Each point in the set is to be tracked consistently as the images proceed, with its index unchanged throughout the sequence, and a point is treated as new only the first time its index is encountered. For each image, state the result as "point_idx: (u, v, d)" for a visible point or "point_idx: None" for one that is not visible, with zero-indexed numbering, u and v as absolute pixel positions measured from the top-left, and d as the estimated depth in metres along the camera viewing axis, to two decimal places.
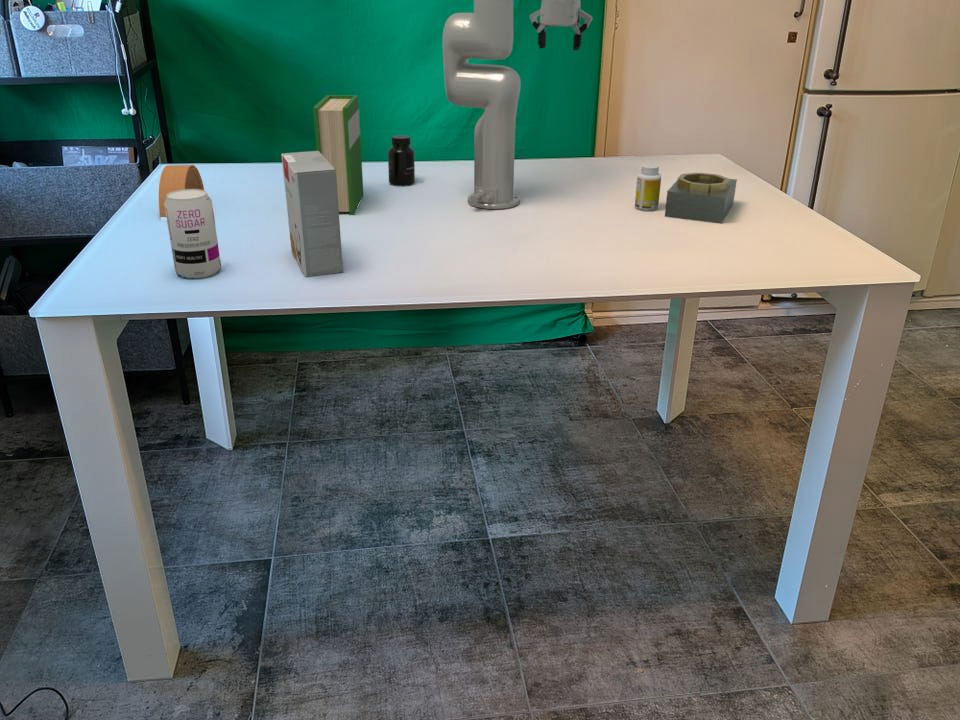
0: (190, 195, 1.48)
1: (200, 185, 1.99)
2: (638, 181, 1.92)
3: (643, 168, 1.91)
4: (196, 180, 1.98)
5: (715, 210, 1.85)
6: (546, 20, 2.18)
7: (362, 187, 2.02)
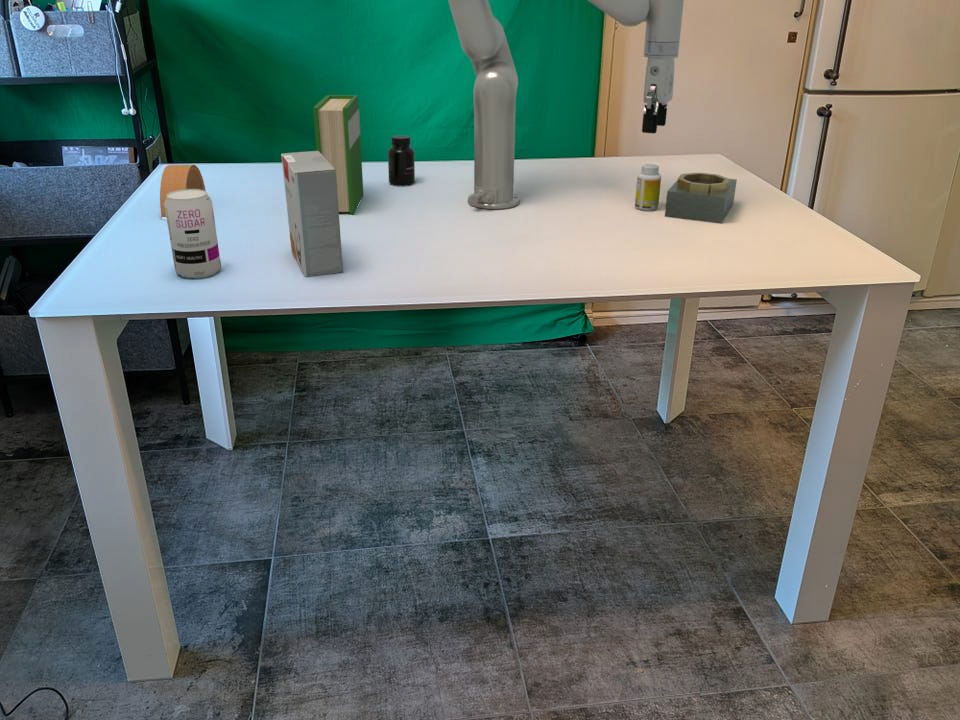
0: (190, 195, 1.48)
1: (201, 185, 1.99)
2: (638, 181, 1.92)
3: (643, 168, 1.91)
4: (197, 180, 1.98)
5: (715, 210, 1.85)
6: (666, 99, 1.81)
7: (362, 187, 2.02)
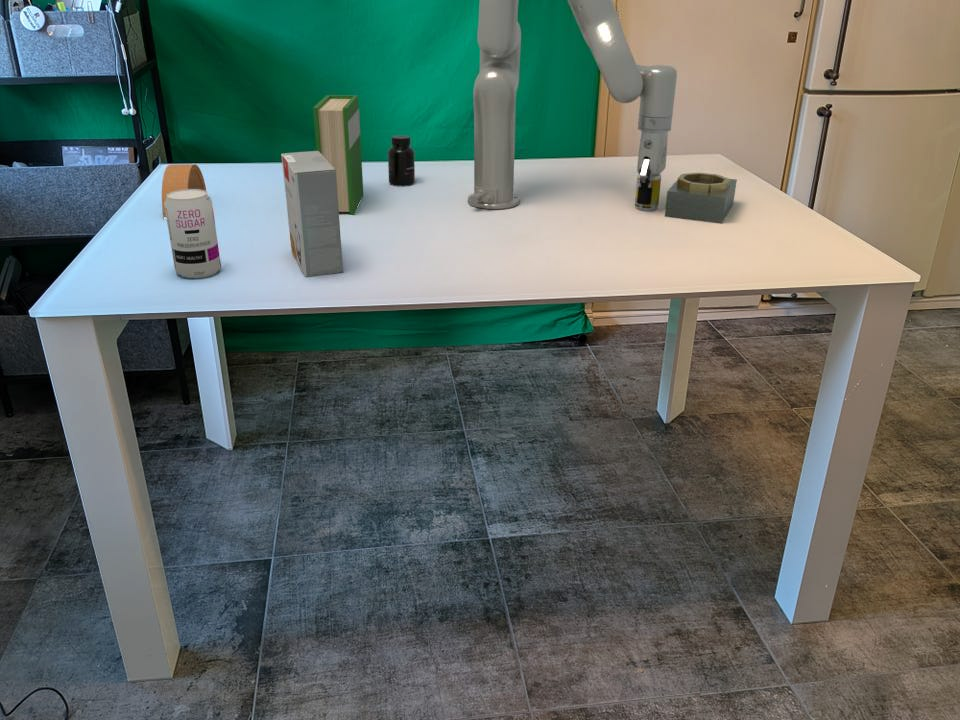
0: (190, 195, 1.48)
1: (202, 184, 2.00)
2: (638, 181, 1.92)
3: None
4: (198, 179, 1.98)
5: (715, 210, 1.85)
6: (659, 170, 1.88)
7: (362, 187, 2.02)
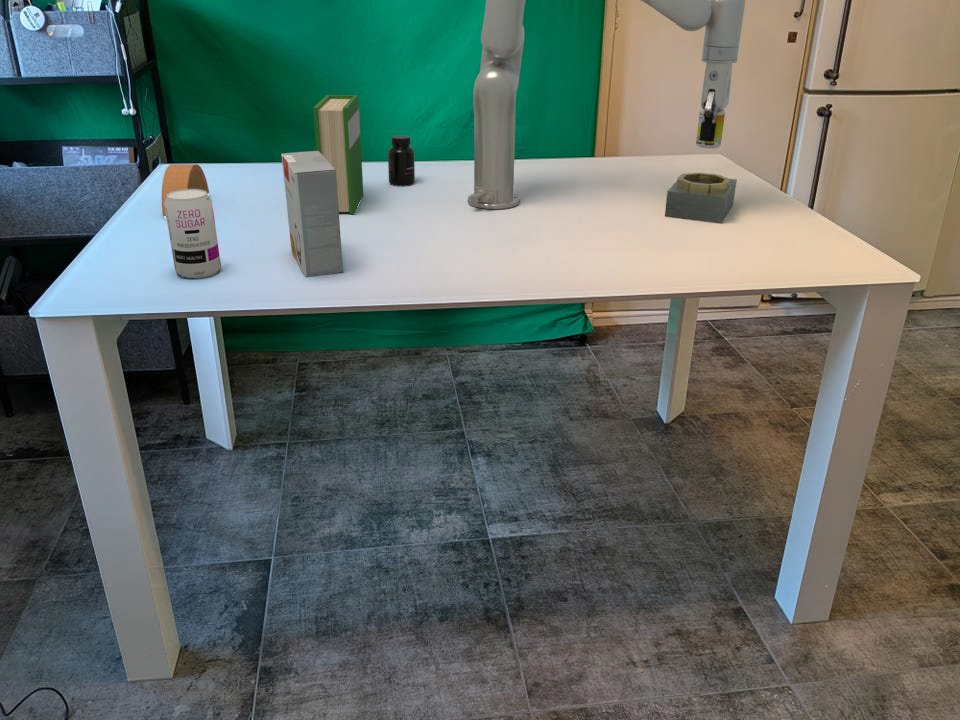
0: (190, 195, 1.48)
1: (204, 184, 2.00)
2: (701, 117, 1.84)
3: None
4: (200, 179, 1.98)
5: (715, 210, 1.85)
6: (724, 104, 1.80)
7: (362, 187, 2.02)
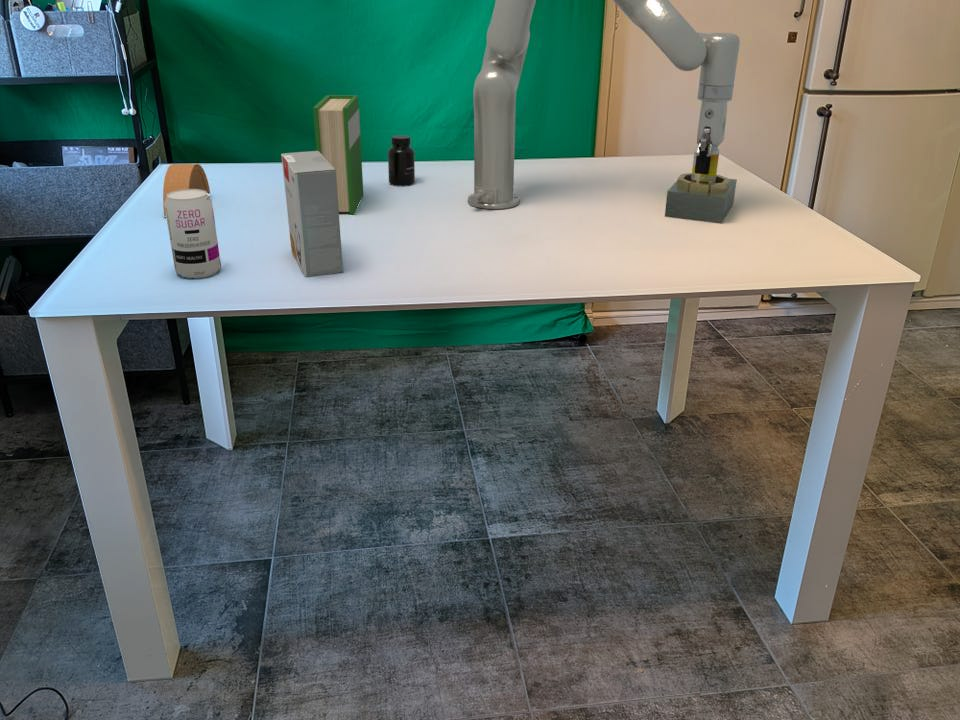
0: (190, 195, 1.48)
1: (205, 184, 2.00)
2: None
3: None
4: (201, 179, 1.99)
5: (715, 210, 1.85)
6: (719, 141, 1.84)
7: (362, 187, 2.02)
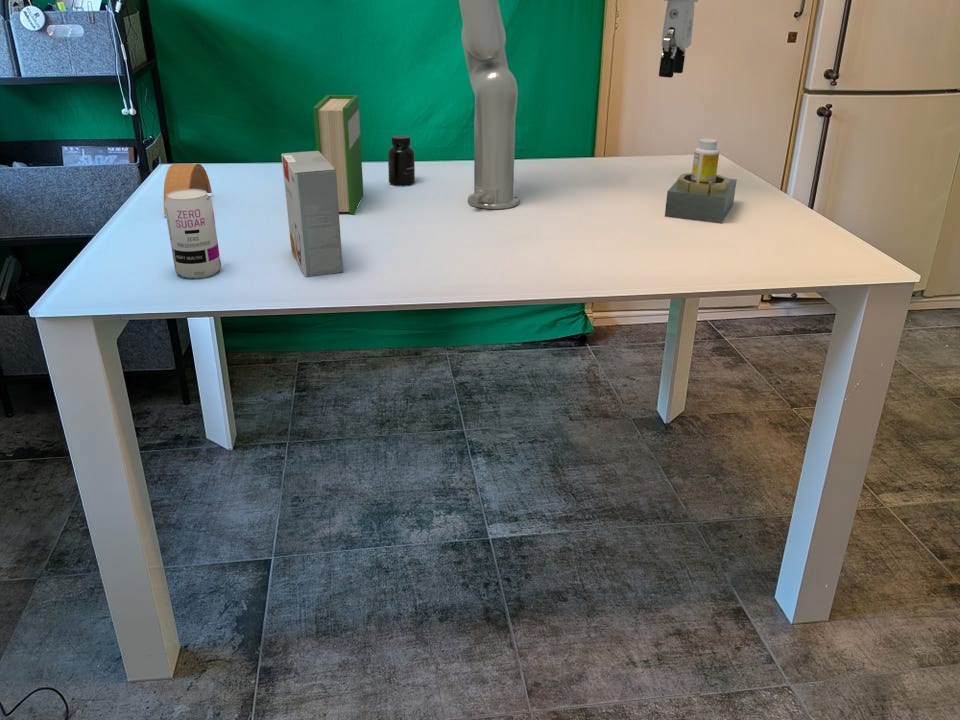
0: (190, 195, 1.48)
1: (207, 184, 2.00)
2: (696, 156, 1.88)
3: (701, 142, 1.87)
4: (203, 179, 1.99)
5: (715, 210, 1.85)
6: (684, 43, 1.83)
7: (362, 187, 2.02)
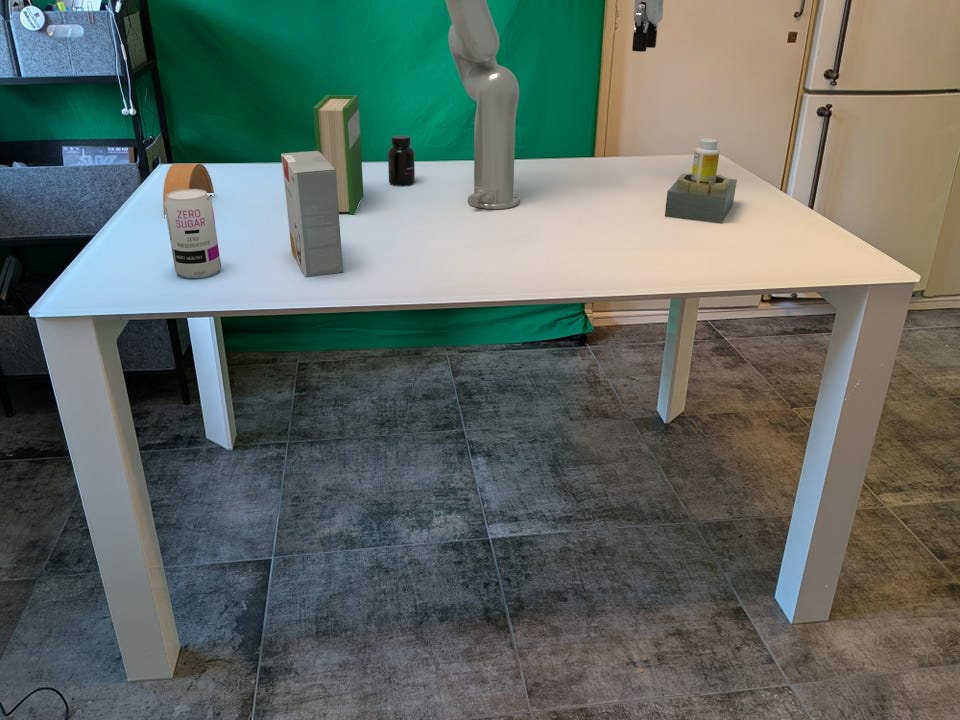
0: (190, 195, 1.48)
1: (209, 184, 2.00)
2: (696, 156, 1.88)
3: (701, 142, 1.87)
4: (205, 179, 1.99)
5: (715, 210, 1.85)
6: (656, 17, 1.87)
7: (362, 187, 2.02)
